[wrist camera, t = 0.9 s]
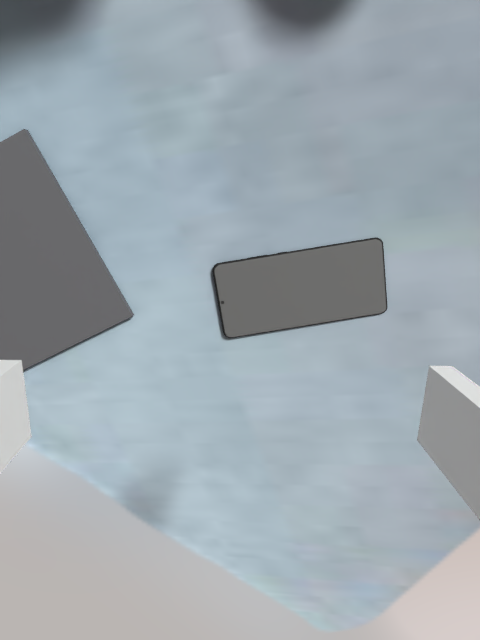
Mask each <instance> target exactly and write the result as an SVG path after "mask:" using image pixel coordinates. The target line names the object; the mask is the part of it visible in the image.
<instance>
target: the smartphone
mask: <svg viewBox="0 0 480 640" xmlns="http://www.w3.org/2000/svg"><path fill="white" fill-rule="evenodd" d="M213 276H214V282H215V287H216V293H217V299H218V304H219V310H220V316H221V321H222V327H223V332H224V335H225V336H226V337H228V338H234V337H240V336H246V335H252V334H258V333H264V332H271V331H277V330H283V329H289V328H295V327H301V326H308V325H314V324H320V323H326V322H332V321H339V320H345V319H351V318H357V317H363V316H369V315H376V314H382V313H384V312H385V311H386V310H387V295H386V280H385V265H384V251H383V242H382V240H381V239H379V238H370V239H364V240H358V241H352V242H346V243H339V244H333V245H327V246H321V247H315V248H309V249H303V250H297V251H290V252H282V253H278V254H272V255H263V256H257V257H251V258H247V259H241V260H235V261H228V262H222V263H217V264H216V265H214V267H213Z"/></svg>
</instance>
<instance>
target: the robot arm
mask: <svg viewBox="0 0 480 640" xmlns="http://www.w3.org/2000/svg"><path fill="white" fill-rule="evenodd" d="M31 437H32V436H31V428H30V421H29V413H28V405H27V398H26V390H25V382H24V374H23V367H22V360H0V474H1V473H2V471H3V470H4V469H5V468H6V467H7V466H8V464H9V463H10V462H11V461H12V459H13V458H14V457H15V456H16V455H17V454H18V452H19V451H20V450H21V449H22V448H23V446H24V445H25V444H26V443H27V442H28V440H29V439H30V438H31ZM417 441H418V442H419V443H420V444H421V446H422V447H423V448H424V450H425V451H426V452H427V453H428V455H429V456H430V457H431V459H432V460H433V461H434V462H435V464H436V465H437V466H438V468H439V469H440V470H441V471H442V473H443V474H444V475H445V477H446V478H447V479H448V480H449V482H450V483H451V484H452V485H453V487H454V488H455V489H456V491H457V492H458V493H459V494H460V496H461V497H462V498H463V500H464V501H465V502H466V503H467V505H468V506H469V507H470V509H471V510H472V511H473V512H474V514H475V515H476V516H477V518H478V519H479V520H480V387H479V386H478V385H477V384H475V383H474V382H473V381H471V380H470V379H469V378H467V377H466V376H465V375H463V374H462V373H461V372H459V371H458V370H457V369H455V368H454V367H453V366H429V370H428V376H427V382H426V388H425V395H424V401H423V407H422V413H421V419H420V425H419V432H418V438H417Z"/></svg>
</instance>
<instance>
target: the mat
mask: <svg viewBox="0 0 480 640" xmlns="http://www.w3.org/2000/svg"><path fill="white" fill-rule="evenodd" d="M133 315H134V314H133V312H132V310H131V309H130V307H129V305H128V304H127V302H126V300H125V298H124V297H123V295H122V293H121V291H120V290H119V288H118V286H117V284H116V283H115V281H114V279H113V277H112V276H111V274H110V272H109V271H108V269H107V267H106V265H105V264H104V262H103V260H102V258H101V257H100V255H99V253H98V251H97V250H96V248H95V246H94V244H93V243H92V241H91V239H90V238H89V236H88V234H87V232H86V231H85V229H84V227H83V225H82V224H81V222H80V220H79V218H78V217H77V215H76V213H75V211H74V210H73V208H72V206H71V205H70V203H69V201H68V199H67V198H66V196H65V194H64V192H63V191H62V189H61V187H60V185H59V184H58V182H57V180H56V178H55V177H54V175H53V173H52V172H51V170H50V168H49V166H48V165H47V163H46V161H45V159H44V158H43V156H42V154H41V152H40V151H39V149H38V147H37V145H36V144H35V142H34V140H33V139H32V137H31V135H30V133H29V132H28V130H25V129H23V130H22V131H20V132H18V133H16V134H14V135H13V136H11V137H9V138H7V139H5V140H4V141H2V142H0V360H22V367H23V370H24V369H26V368H28V367H30V366H32V365H34V364H36V363H38V362H41V361H43V360H45V359H47V358H49V357H51V356H53V355H55V354H57V353H59V352H61V351H63V350H65V349H67V348H69V347H71V346H73V345H75V344H77V343H79V342H81V341H83V340H85V339H87V338H89V337H91V336H93V335H95V334H97V333H99V332H101V331H103V330H105V329H108V328H110V327H112V326H114V325H116V324H118V323H120V322H122V321H124V320H126V319H128V318H130V317H132V316H133Z"/></svg>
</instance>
